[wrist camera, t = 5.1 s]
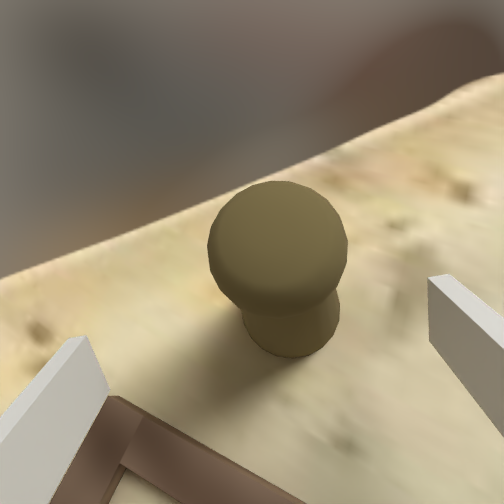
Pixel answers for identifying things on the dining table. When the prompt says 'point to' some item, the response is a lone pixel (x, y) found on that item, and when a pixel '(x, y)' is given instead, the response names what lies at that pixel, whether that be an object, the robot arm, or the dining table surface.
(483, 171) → the dining table surface
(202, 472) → the cutout board
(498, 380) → the robot arm
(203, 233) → the dining table surface
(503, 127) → the dining table surface
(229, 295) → the olive pawn
